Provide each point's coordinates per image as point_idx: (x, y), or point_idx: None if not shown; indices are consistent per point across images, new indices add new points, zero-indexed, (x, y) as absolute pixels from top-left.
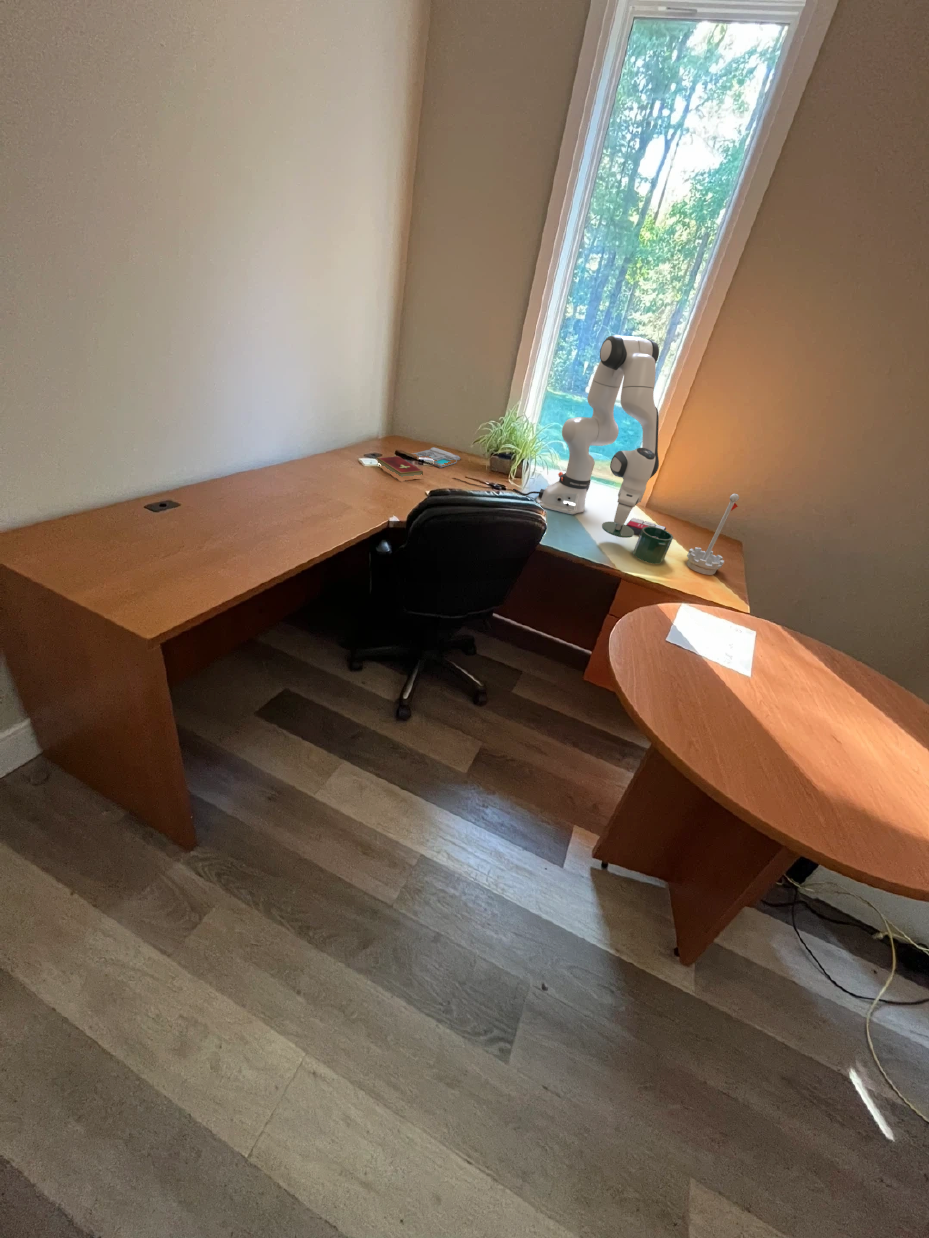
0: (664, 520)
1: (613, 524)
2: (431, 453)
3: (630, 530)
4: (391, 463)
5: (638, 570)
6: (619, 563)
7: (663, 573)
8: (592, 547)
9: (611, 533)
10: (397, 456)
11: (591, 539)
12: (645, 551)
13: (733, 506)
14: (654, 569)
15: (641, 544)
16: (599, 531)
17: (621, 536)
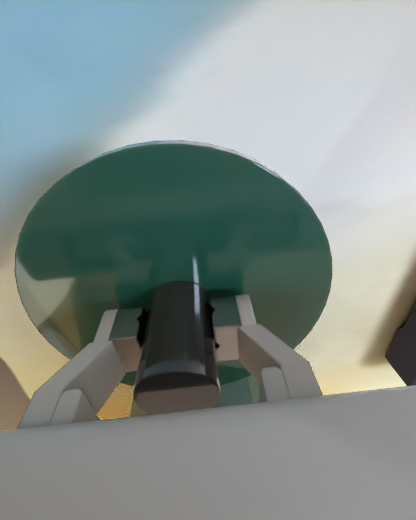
0: None
1: (244, 247)
2: None
3: (236, 365)
4: None
5: (44, 372)
6: (12, 313)
7: (119, 417)
8: (23, 129)
9: (20, 293)
10: None
11: (155, 64)
12: (128, 410)
13: None
14: (119, 398)
15: (136, 413)
16: (373, 63)
17: (67, 352)
